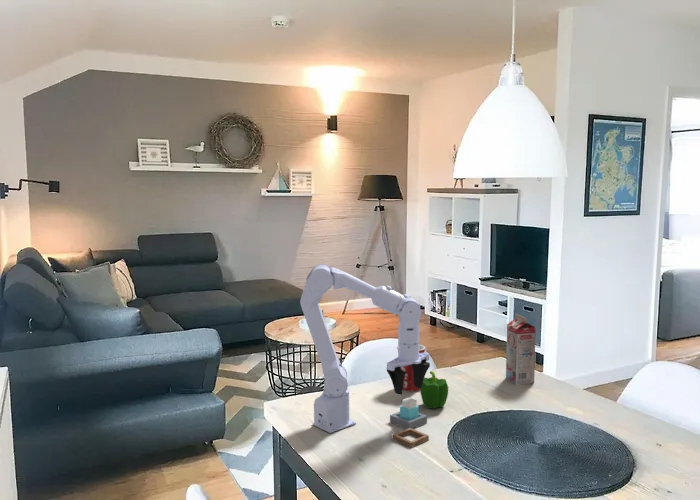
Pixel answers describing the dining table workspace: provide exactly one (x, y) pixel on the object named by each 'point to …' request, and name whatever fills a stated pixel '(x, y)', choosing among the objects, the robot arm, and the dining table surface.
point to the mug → (410, 375)
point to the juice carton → (520, 351)
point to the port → (407, 424)
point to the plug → (409, 409)
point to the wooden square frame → (412, 443)
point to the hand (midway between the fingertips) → (408, 390)
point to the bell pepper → (434, 391)
